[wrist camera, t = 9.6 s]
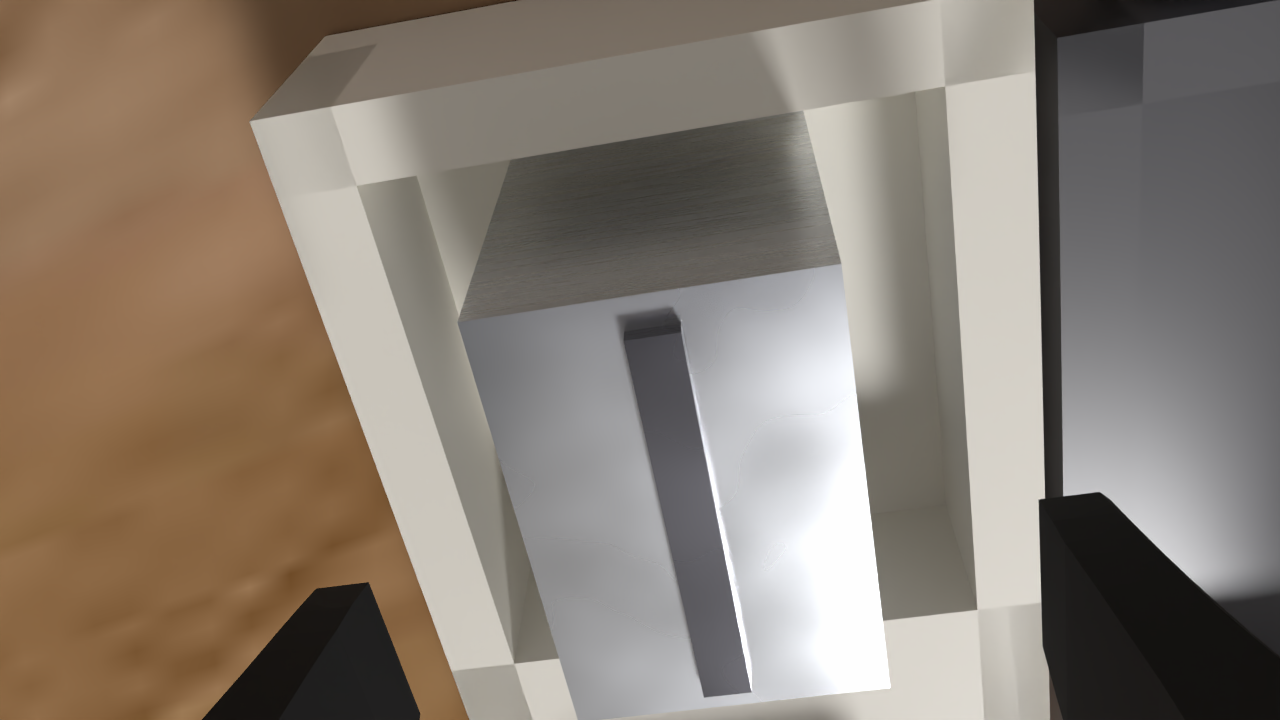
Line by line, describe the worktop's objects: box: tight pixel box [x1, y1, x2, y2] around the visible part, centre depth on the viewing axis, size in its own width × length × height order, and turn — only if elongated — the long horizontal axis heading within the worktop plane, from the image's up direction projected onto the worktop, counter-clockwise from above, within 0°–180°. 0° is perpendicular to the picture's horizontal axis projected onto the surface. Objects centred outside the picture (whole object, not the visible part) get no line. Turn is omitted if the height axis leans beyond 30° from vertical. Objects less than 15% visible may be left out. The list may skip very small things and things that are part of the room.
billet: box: [457, 111, 890, 720], centre depth 16 cm, size 4×6×5 cm, turn 11°
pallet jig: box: [250, 0, 1050, 720], centre depth 20 cm, size 21×9×4 cm, turn 11°
